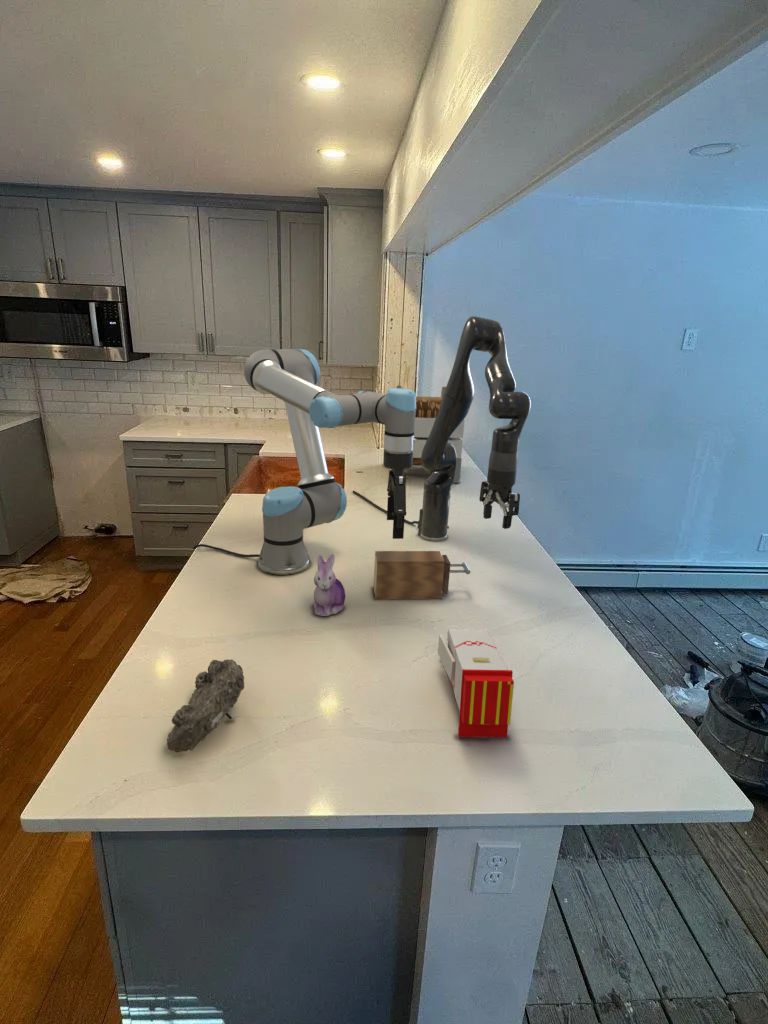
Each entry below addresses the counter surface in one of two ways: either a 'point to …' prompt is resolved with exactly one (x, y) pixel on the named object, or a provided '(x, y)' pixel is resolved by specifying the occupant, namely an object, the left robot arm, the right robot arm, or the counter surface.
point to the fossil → (206, 705)
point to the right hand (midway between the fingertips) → (496, 523)
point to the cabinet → (408, 574)
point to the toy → (478, 682)
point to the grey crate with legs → (423, 427)
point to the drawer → (448, 571)
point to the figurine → (327, 589)
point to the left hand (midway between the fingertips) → (394, 528)
